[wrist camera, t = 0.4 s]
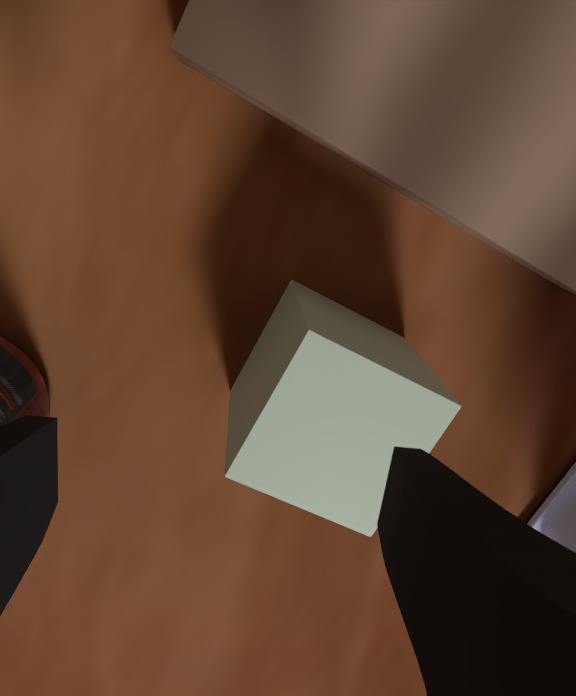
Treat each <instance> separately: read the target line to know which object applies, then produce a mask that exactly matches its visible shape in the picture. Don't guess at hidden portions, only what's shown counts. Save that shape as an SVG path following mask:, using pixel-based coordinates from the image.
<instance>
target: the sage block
mask: <svg viewBox="0 0 576 696" xmlns="http://www.w3.org/2000/svg"><path fill="white" fill-rule="evenodd" d="M460 408H461V405H460V404H459V402H458V401H457V400H456V399H455V398H454V396H453V395H452V394H451V393H450V392H449V390H448V389H447V388H446V387H445V386H444V384H443V383H442V382H441V381H440V380H439V378H438V377H437V376H436V375H435V374H434V372H433V371H432V370H431V369H430V368H429V366H428V365H427V364H426V363H425V362H424V360H423V359H422V358H421V357H420V356H419V354H418V353H417V352H416V351H415V350H414V348H413V347H412V346H411V345H410V344H409V342H408V341H407V340H406V339H405V338H404V337H402V336H400V335H398V334H396V333H394V332H392V331H390V330H388V329H386V328H384V327H383V326H381V325H379V324H377V323H375V322H373V321H371V320H369V319H367V318H365V317H363V316H361V315H359V314H358V313H356V312H354V311H352V310H350V309H348V308H346V307H344V306H342V305H340V304H338V303H336V302H334V301H333V300H331V299H329V298H327V297H325V296H323V295H321V294H319V293H317V292H315V291H313V290H311V289H309V288H308V287H306V286H304V285H302V284H300V283H298V282H296V281H294V280H292V279H291V281H290V283H289V284H288V286H287V288H286V290H285V292H284V293H283V295H282V297H281V299H280V301H279V303H278V304H277V306H276V308H275V310H274V312H273V314H272V315H271V317H270V319H269V321H268V323H267V324H266V326H265V328H264V330H263V332H262V334H261V335H260V337H259V339H258V341H257V343H256V345H255V346H254V348H253V350H252V352H251V354H250V355H249V357H248V359H247V361H246V363H245V365H244V366H243V368H242V370H241V372H240V374H239V376H238V377H237V379H236V381H235V383H234V385H233V386H232V388H231V390H230V401H229V417H228V433H227V448H226V464H225V477H227V478H229V479H232V480H234V481H237V482H239V483H241V484H244V485H246V486H249V487H251V488H253V489H256V490H258V491H261V492H263V493H266V494H268V495H270V496H273V497H275V498H278V499H280V500H282V501H285V502H287V503H290V504H292V505H294V506H297V507H299V508H302V509H304V510H307V511H309V512H311V513H314V514H316V515H319V516H321V517H323V518H326V519H328V520H331V521H333V522H335V523H338V524H340V525H343V526H345V527H348V528H350V529H352V530H355V531H357V532H360V533H362V534H364V535H367V536H369V537H371V536H372V535H373V533H374V532H375V530H376V529H377V528H378V526H377V522H378V518H379V513H380V509H381V504H382V499H383V495H384V490H385V486H386V481H387V477H388V472H389V468H390V463H391V458H392V454H393V449H394V447H406V448H417V449H422V450H424V451H425V452H427V453H430V451H431V450H432V448H433V447H434V445H435V444H436V443H437V441H438V440H439V438H440V437H441V435H442V434H443V432H444V431H445V430H446V428H447V427H448V425H449V424H450V422H451V421H452V419H453V418H454V417H455V415H456V414H457V412H458V411H459V409H460Z"/></svg>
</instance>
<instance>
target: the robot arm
mask: <svg viewBox="0 0 576 696" xmlns="http://www.w3.org/2000/svg"><path fill="white" fill-rule="evenodd" d="M57 503H58V458H57V418H53V417H41V416H29V415H26V416H23V417H21V418H18V419H16V420H14V421H11V422H9V423H7V424H5V425H3V426H1V427H0V616H1V614H2V612H3V610H4V609H5V607H6V605H7V603H8V602H9V600H10V598H11V596H12V595H13V593H14V591H15V589H16V588H17V586H18V584H19V583H20V581H21V579H22V577H23V575H24V574H25V572H26V570H27V568H28V567H29V565H30V563H31V561H32V559H33V558H34V556H35V554H36V552H37V550H38V549H39V547H40V545H41V543H42V541H43V538H44V536H45V533H46V531H47V529H48V526H49V524H50V521H51V518H52V516H53V513H54V511H55V508H56V505H57ZM377 526H378V532H379V537H380V543H381V548H382V553H383V558H384V563H385V567H386V570H387V573H388V576H389V579H390V582H391V585H392V588H393V591H394V594H395V597H396V600H397V603H398V605H399V608H400V611H401V614H402V617H403V620H404V623H405V626H406V629H407V631H408V634H409V637H410V640H411V643H412V646H413V649H414V652H415V655H416V657H417V660H418V664H419V667H420V670H421V674H422V677H423V680H424V684H425V688H426V692H427V696H576V462H575V464H574V465H573V466H572V467H571V469H570V470H569V471H568V472H567V474H566V475H565V476H564V478H563V479H562V480H561V481H560V483H559V484H558V485H557V486H556V488H555V489H554V490H553V491H552V493H551V494H550V495H549V496H548V498H547V499H546V500H545V502H544V503H543V504H542V505H541V507H540V508H539V509H538V510H537V512H536V513H535V514H534V515H533V517H532V518H531V519H530V521H529V522H528V523H527V524H526V523H525V522H523V521H522V520H520V519H519V518H517V517H516V516H514V515H513V514H511V513H510V512H508V511H507V510H505V509H504V508H502V507H501V506H500V505H498V504H497V503H495V502H494V501H492V500H491V499H490V498H488V497H487V496H486V495H484V494H483V493H481V492H480V491H479V490H477V489H476V488H475V487H473V486H472V485H471V484H469V483H468V482H467V481H465V480H464V479H463V478H461V477H460V476H459V475H457V474H456V473H455V472H453V471H452V470H451V469H450V468H448V467H447V466H446V465H444V464H443V463H441V462H440V461H439V460H437V459H436V458H435V457H433V456H432V455H430V454H429V453H427V452H425V451H424V450H422V449H417V448H406V447H394V449H393V454H392V458H391V463H390V468H389V472H388V477H387V481H386V486H385V490H384V495H383V499H382V504H381V509H380V513H379V518H378V522H377Z"/></svg>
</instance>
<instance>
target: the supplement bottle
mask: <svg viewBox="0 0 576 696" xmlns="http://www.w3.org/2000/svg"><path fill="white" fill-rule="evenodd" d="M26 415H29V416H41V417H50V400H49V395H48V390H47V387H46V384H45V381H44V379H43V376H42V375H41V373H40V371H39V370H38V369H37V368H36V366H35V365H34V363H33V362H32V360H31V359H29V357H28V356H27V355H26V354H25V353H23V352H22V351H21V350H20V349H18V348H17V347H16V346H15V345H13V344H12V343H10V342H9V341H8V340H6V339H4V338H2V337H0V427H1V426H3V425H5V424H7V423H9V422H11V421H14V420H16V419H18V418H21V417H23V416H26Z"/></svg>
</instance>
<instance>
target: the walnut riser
mask: <svg viewBox="0 0 576 696" xmlns="http://www.w3.org/2000/svg"><path fill="white" fill-rule="evenodd" d="M169 48H170V49H171V50H172V51H173V53H174V54H175V55H176V57H177V58H178V59H179V61H181V62H182V63H184V64H186V65H187V66H189V67H191V68H193V69H194V70H196V71H198V72H199V73H201V74H203V75H204V76H206V77H208V78H209V79H211V80H213V81H214V82H216V83H218V84H219V85H221V86H223V87H224V88H226V89H228V90H229V91H231V92H233V93H234V94H236V95H238V96H239V97H241V98H243V99H245V100H246V101H248V102H250V103H251V104H253V105H255V106H256V107H258V108H260V109H261V110H263V111H265V112H266V113H268V114H270V115H271V116H273V117H275V118H276V119H278V120H280V121H281V122H283V123H285V124H286V125H288V126H290V127H291V128H293V129H295V130H296V131H298V132H300V133H302V134H303V135H305V136H307V137H308V138H310V139H312V140H313V141H315V142H317V143H318V144H320V145H322V146H323V147H325V148H327V149H328V150H330V151H332V152H333V153H335V154H337V155H338V156H340V157H342V158H343V159H345V160H347V161H348V162H350V163H352V164H354V165H355V166H357V167H359V168H360V169H362V170H364V171H365V172H367V173H369V174H370V175H372V176H374V177H375V178H377V179H379V180H380V181H382V182H384V183H385V184H387V185H389V186H390V187H392V188H394V189H395V190H397V191H399V192H400V193H402V194H404V195H406V196H407V197H409V198H411V199H412V200H414V201H416V202H417V203H419V204H421V205H422V206H424V207H426V208H427V209H429V210H431V211H432V212H434V213H436V214H437V215H439V216H441V217H442V218H444V219H446V220H447V221H449V222H451V223H452V224H454V225H456V226H458V227H459V228H461V229H463V230H464V231H466V232H468V233H469V234H471V235H473V236H474V237H476V238H478V239H479V240H481V241H483V242H484V243H486V244H488V245H489V246H491V247H493V248H494V249H496V250H498V251H499V252H501V253H503V254H504V255H506V256H508V257H510V258H511V259H513V260H515V261H516V262H518V263H520V264H521V265H523V266H525V267H526V268H528V269H530V270H531V271H533V272H535V273H536V274H538V275H540V276H541V277H543V278H545V279H546V280H548V281H550V282H551V283H553V284H555V285H556V286H558V287H560V288H561V289H563V290H565V291H567V292H570V293H572V294H574V295H576V0H189V2H188V4H187V6H186V9H185V11H184V13H183V16H182V18H181V20H180V23H179V25H178V27H177V30H176V32H175V34H174V37H173V39H172V41H171V44H170V46H169Z"/></svg>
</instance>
